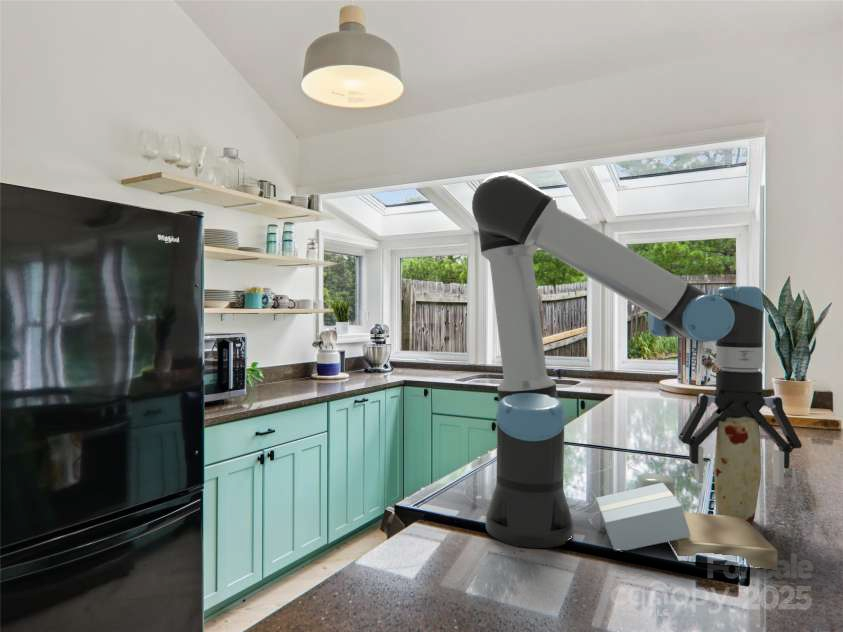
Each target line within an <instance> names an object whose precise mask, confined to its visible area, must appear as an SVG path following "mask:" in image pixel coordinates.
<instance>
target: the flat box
mask: <svg viewBox="0 0 843 632" xmlns="http://www.w3.org/2000/svg"><path fill="white" fill-rule="evenodd" d="M595 499H596V502H597V507H598V508H599V512H600V516H601V519H602V522H603V525H604V528H605V530H606V533H607V537H608V536H609V537H608V539H609V538H610V540H609V542H610V541H611V542H610V544H611V546H613V547H612V549H620V550H625V551H629V550H634V549H638V548H639V549H640V548H643V547H647V546H654V545H658V544H664V543H667V542H668V541H673V540H677V539H682V538H687V537H691V535H690V531H689V528H688V525H687V522H686V519H685V515H684V510H683V506H682V505H681V503H680V502H679V501H678V500H677V499H676V497H674V495H673V494H672V493H671V491H669V490H668V488H667V487H666V486H665V485H664V483H659V484H654V485H650V486H645V487H641V488H638V487H637V488H632V489H629V490H624V491H619V492H615V493H610V494H607V495H603V496H599V497H595Z"/></svg>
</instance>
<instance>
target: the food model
mask: <svg viewBox="0 0 843 632" xmlns="http://www.w3.org/2000/svg"><path fill="white" fill-rule="evenodd" d="M760 430H761V427H760V426H759V423H758V421H757V420H756V419H755V418H749V417H740V418H732V417H728V418H727V419H726V420H725V421H719V424H718V426H717V427H716V440H715V452H714V459H713V460H714V461H713V475H714V477H713V480H714V502H715V503H714V504H715V512H716V513H715V515H724V516H737V517H743V518H744V519H745V520H746V521H747V522H748V523H749V524H751V523H753V522H754V520H755V516H756V511H757V506H758V498H759V492H760V485H761V476H762V455H761V452H762V451H761V432H760Z"/></svg>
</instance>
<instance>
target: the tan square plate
mask: <svg viewBox="0 0 843 632" xmlns="http://www.w3.org/2000/svg"><path fill="white" fill-rule="evenodd" d="M683 512H684V511H683ZM684 515H685V519H686V522H687V525H688V528H689V531H690V535H691V537H687V538H682V539H677V540H673V541H669V542H670V544H671V545H672V547H673V548H674V550H675V551H676V553H677V555H678V556H685V557H686V556H693V555H695V554H696V553H714V554H722V555H733V556H740V557H742V558H745V559H746V560H747V562H748V563H749V564H750V565H751V566H753V567H758V568H759V567H760V568H765V569H764V570H767V569H774V570H773V571H778V550H777V549H776V547H774V546H773V545H772V544H771V543H770V542H769V540H767V539H766V538H765V537H764V536H763V535H762V534H761V533H760V532H759V531H758V530H757V529H756V528H755V527H754V526H752V524H751V523H748V522H747V521H746V520H745V519H744V518H743V517H737V516H724V515H717V514H712V513H711V514H708V513H697V512H695V513H694V512H684Z"/></svg>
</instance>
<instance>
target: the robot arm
mask: <svg viewBox="0 0 843 632" xmlns="http://www.w3.org/2000/svg"><path fill="white" fill-rule="evenodd" d="M471 200H472V203H471V206H472V207H471V209H472V214H473V217H474V220H475V222H476V223H477V227H478V237H479V244H480V252H481V253H480V254H481V256H482V257H484V258H485V259H487V260H488V262H489V265H490V266H489V267H490V273H491V274H490V275H491V281H492V282H491V283H492V289H493V297H494V306H495V307H494V308H495V317H496V324H497V332H498V340H499V349H500V358H501V367H502V373H503V375H502V376H503V379H502V381H500V383H499V385H498V386H497V394H498V395H497V398H498V405H497V411H496V414H495V418H496V419H495V420H496V423H497V424H496V430H497V431H496V482H495V483H496V484H495V488H494V491H493V493H492V496H491V500H490V502H489V505H488V509H487V511H486V515H485V529H486V532H487V533H488V534H489V535H490V536H491V537H493V538H495V540H498V541H500V542H502V543H505V544H508V545H512V546H516V547H522V548H530V549H546V548H547V549H548V548H555V547H560V546H563V545H565V544H566V543H565V542H566V541H567V540H568V539H569V538H571V536H572V535H573V536H574V520H573V516H572V514H571V511H570V507H569V503H568V501H567V497H566V494H565V490H564V472H565V471H564V468H565V467H564V464H565V463H564V461H565V459H564V458H565V457H564V456H565V425H566V422H567V419H566V415H565V407H564V404H563V403H562V402H561V401H560V400H559V399H558V391H557V385H556V384H557V383H556V381H555V380H553V379H552V378H551V377H550V376H549V375H548V373H547V364H546V355H545V347H544V341H543V331H542V323H541V316H540V307H539V299H538V291H537V281H536V274H535V263H534V258H533V256H534V254H535V253H536V252H537V250H538V249H541V250H542V251H544V252H546V253H547V254H548V255H550V256H552V257H554V258H556V259H557V260H559V261H561V262H563V263H565V264H566V265H567V266H568V267H571V268H573V269H574V270H575V271H577V272H579V273H581V274H583V275H585V276H586V277H588V278H589V279H591V280H593V281H594V282H596V283H597V284H600V286H602V287H605V288H606V289H608V290H609V291H611V292H613V293H615V294H616V295H618V296H620V297H621V298H622V299H625V300H626V301H628V302H630V303H632V304H633V305H635V306H636V307H638V308H640V309H642V310H643V311H645V312H647V324H648V331H649V333H650V334H651V335H652V336H653V337H665V338H667V339H669V338H683V339H689V340H694V341H696V342H700V343H707V342H715V341H716V342H715V344H716V348H715V349H716V352H715V353H716V354H715V356H716V357H715V366H716V367H717V368H718V369H717V370H716V371H715V393H714V395H709V394H708V395H707V394H705V393H698V394H697V396H696V404H695V406H694V408H693V410H692V412H691V414H690V415H689V417H688V419H687V421H686V422H685V424H684V425H683V428H682V430H681V432H680V433H679V434H678V439H679V440H680V441H681V443H683V444H685V445H688V460H689V462H690V463H691V464H693V465H694V480H695V481H696V482H697V483H698V484H704V448H703V447H702V446H701V444H702V443H703V442H704V441H705V440H706V439H707V438H708V437H709V436H710V435H711V434H712V433H713V432H714V431H715V430H716V429H717V426H718V424H719V421H725V420H726V419H727V418H728V417H732V418H740V417H749V418H755V419H756V420H757V421H758V423H759V428H760V429H762V430H763V432H764V433H765V434H766V435H767V436H768V437H769V438H770V439H771V440H772V441H773V443H774V444H775V445H776V446H777V447H776V448H774V447H773V448H772V484H773V485H775V486H776V487H778V488H785V469H789V467H790V454H791V453H792V452H793V450H794V449H801V448H802V447H803V443H802V442H801V440H800V439H799V437H798V435H797V433H796V431H795V429H794V427H793V426H792V424H791V421H790V419H789V417H788V416H787V414H786V412H785V410H784V407H783V399H782V397H779V396H776V395H773V394H772V395H769V396H766V397H765V396H763V379H764V378H763V374H764V373H762V371H760V370H761V369H762V368H763V363H764V362H763V361H764V360H763V357H764V356H763V355H764V353H763V350H764V349H763V337H764V336H763V332H764V314H765V310H764V299H763V292H762V290H761V289H760V288H759V287H757V286H749V285H747V286H745V285H744V286H721V287H718V288H717V289H716V294H711V293H705V292H704V291H702V290H701V289H699V288H698V287H696V286H693V285H692V284H689V283H688V282H687V281H685V280H683V279H682V278H680V277H679V276H676V275H675V274H674V273H671V271H668V270H666V269H665V268H663V267H661V266H660V265H658V264H656V263H654V262H652V261H651V260H649V259H647V258H646V257H644V256H642V255H641V254H638V253H637V252H635V251H634V250H632V249H630V248H629V247H627V246H625V245H623V244H621V243H620V242H618V241H617V240H614V239H613V238H611V237H609V236H608V235H607V234H604V233H603V232H602V231H599V230H598V229H596V228H594V227H593V226H592V225H591V226H590V225H589V224H587V223H585V222H584V221H582V220H580V219H579V218H578V217H575V216H573V215H572V214H571V213H568V212H566V211H565V210H563V209H561V208H559V206H558V205H557V201H556V198H555V197H553V196H551V195H549V194H548V193H546V192H544V191H543V190H541V189H540V188H539V187H537V186H535V185H534V184H532V183H531V182H529V181H528V180H527V179H525V178H523V177H521V176H519V175H517V174H515V173H511V172H509V173H508V172H501V173H494V174H493V175H490V176H488V177H486V178H485V179H484V180H483V181H482V182H481V183H479V185H478V186H477V188H476V189H475V191H474V194H473V197H472V199H471ZM712 403H714V405H715V406H716V407H717V408H716V409H715V410H714V411H713V412H712V414H711V416H710V417H709V418H707V420H706V421H705V422H704V423H703V424H702V425H701V426H700V427H699V428H698V429H697V427H698V426H699V424H700V422H701V420H702V418H703V417H704V415H705V413H706V412H707V409H708V407H710V406H711V404H712ZM765 405H766V407H767V408H768V409H770V411H771V413H772V414H773V416H774V418H775V420H776V422H777V424H778V426H779V428H780V430H781V432H782V433H783V435H784V437H785V439H786V440H785V439H784V438H783V437H782V435H781V434H779V432H778V431H777V430H776V429H775V428H774V427H773V425H771V424H770V422H769V421H768V420H767V418H766V417H765V416H764V415H763V413H762V412H761V409H762V408H763V407H764V406H765ZM695 431H696V432H695Z"/></svg>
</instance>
